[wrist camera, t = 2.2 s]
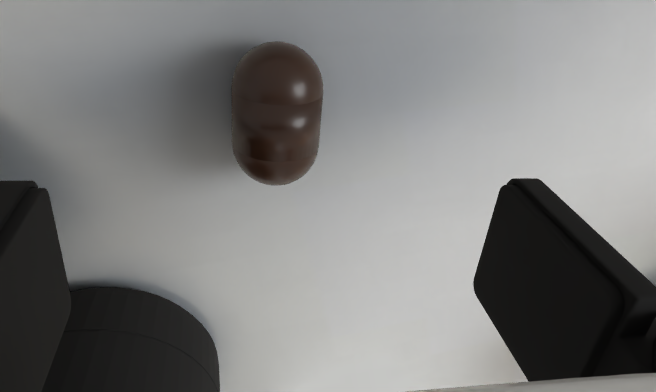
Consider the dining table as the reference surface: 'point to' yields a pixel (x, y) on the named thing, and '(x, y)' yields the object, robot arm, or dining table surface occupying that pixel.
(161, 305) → the pen holder
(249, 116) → the bean
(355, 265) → the dining table surface
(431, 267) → the dining table surface
